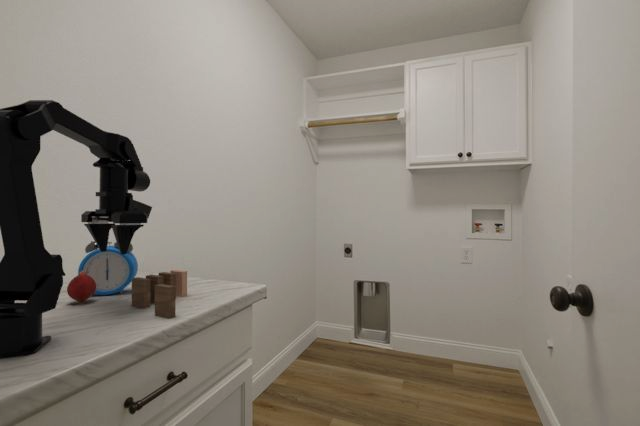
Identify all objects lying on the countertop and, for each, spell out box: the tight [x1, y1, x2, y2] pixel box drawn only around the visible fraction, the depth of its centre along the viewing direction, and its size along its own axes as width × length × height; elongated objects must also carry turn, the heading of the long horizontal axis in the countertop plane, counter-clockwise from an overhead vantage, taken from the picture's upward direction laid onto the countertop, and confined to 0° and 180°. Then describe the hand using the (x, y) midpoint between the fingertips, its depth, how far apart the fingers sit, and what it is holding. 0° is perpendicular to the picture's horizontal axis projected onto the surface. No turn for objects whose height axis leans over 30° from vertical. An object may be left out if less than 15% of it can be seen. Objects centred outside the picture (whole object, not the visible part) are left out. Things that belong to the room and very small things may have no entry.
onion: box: [66, 271, 96, 303], centre depth 78 cm, size 6×6×8 cm
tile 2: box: [131, 276, 151, 309], centre depth 75 cm, size 2×5×7 cm, turn 66°
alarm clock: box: [77, 240, 139, 297], centre depth 87 cm, size 13×6×15 cm, turn 110°
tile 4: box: [158, 271, 177, 300], centre depth 82 cm, size 2×5×7 cm, turn 66°
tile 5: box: [169, 269, 188, 298], centre depth 85 cm, size 2×5×7 cm, turn 66°
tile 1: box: [154, 284, 176, 320], centre depth 69 cm, size 2×5×7 cm, turn 66°
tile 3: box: [145, 274, 164, 305], centre depth 79 cm, size 2×5×7 cm, turn 66°
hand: (113, 252), depth 74 cm, fingers open, 9 cm apart
